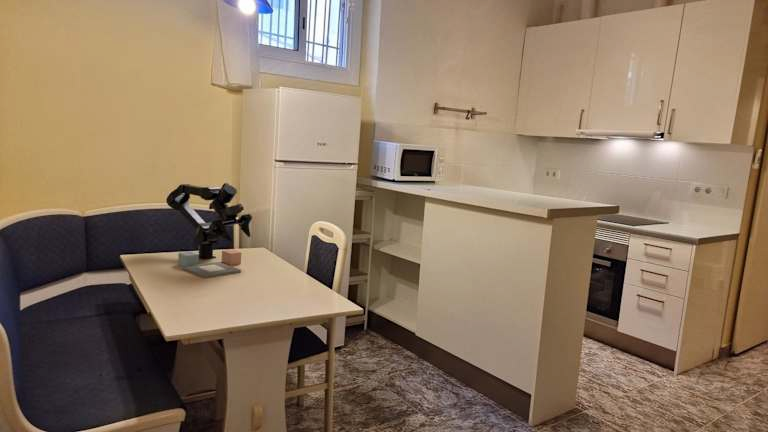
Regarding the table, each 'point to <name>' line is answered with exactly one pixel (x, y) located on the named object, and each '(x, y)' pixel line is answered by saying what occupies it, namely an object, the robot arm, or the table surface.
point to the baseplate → (211, 269)
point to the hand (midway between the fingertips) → (240, 238)
